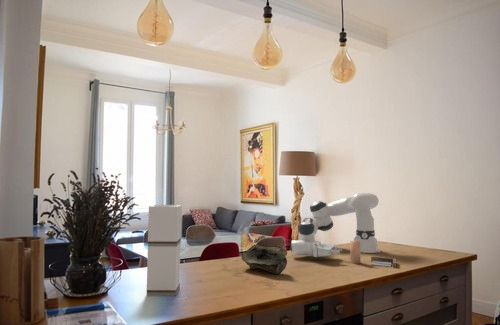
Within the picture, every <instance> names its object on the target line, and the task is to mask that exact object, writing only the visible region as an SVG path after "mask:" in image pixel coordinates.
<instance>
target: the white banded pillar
mask: <svg viewBox="0 0 500 325" xmlns="http://www.w3.org/2000/svg"><path fill="white" fill-rule="evenodd" d="M147 225H148V226H147V228H148V230H147V262H146V263H147V264H146V265H147V266H146V271H147V272H146V296H158V297H159V296H173V297H175V296H177V293H178V292H179V290H180V288H181V283H180V280H181V279H180V276H181V274H180V269H181V268H180V267H181V247H182V246H181V245H182V241H181V240H182V204H180V205H179V204H154V206H152V205H151V206H150V205H149V206H148V224H147Z"/></svg>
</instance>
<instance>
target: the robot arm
mask: <svg viewBox="0 0 500 325" xmlns="http://www.w3.org/2000/svg"><path fill="white" fill-rule="evenodd" d="M379 200H380V199H379V198H378V196H377V195H376V194H374V193H372V192H371V193H370V192H366V193H365V192H361V193H360V192H358V193H356V194H354V195H352V196H347V197H343V198H341V199H338V200H334V201H331V202H329V203H327V202H324V201H321V200H319V201H314V202H313V203H311V204H310V206H309V210H310V213H311V215H312V216H311V215H309V216H307V217H305V218H303V220H302V222H300V223H299V224H298V225H297V228H298V229H297V230H298V239H297V240H292V241H290V250H291V251H290V252H291V253H292V254H294V255H296V256H297V255H299V256H311V257H314V258H317V257H330V256H331V255H336V254H338V255H339V254H340V253H341V252H343V248H342V247H339V246H336V245H335V244H333V243H332V244H330V243H322V242H321V241H318V240H317V241H316V240H315V235H316V234H317V233H318V231H321V232H328V231H329V230H331V229H332V228H333V227H334V222H333V220H332V217H339V216H344V215H348V214H349V215H350V214H354V213H355V217H356V230H355V235H356V236H355V237H354V238H353V241H360V253H365V254H372V253H373V254H374V253H375V254H376V253H381V250H380V249H379V248H378V240H377V238H376V237H375V235H376V234H375V233H376V231H375V218H374V216H373V214H372V211H371V210H372V209H374V208H376V207H377V206H378V205H379Z"/></svg>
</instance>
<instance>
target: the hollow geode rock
mask: <svg viewBox="0 0 500 325" xmlns="http://www.w3.org/2000/svg"><path fill="white" fill-rule="evenodd" d="M287 254H288V251H287V250H286V249H283V248H282V247H281V246H278V245H269V246H268V245H262V244H261V245H260V243H257V244H254V245H251V247H249V248H248V249H247V250H245V251H244V252H243V253H242V254H241V257H240V258H241V260H242V261H243V262H245V264H246V265H248V267H249V270H254V269H262V270H264V271H265V272H269V273H272V274H274V275H281V274H282V273H283V271H284V270H285V269H286V268H287V264H288V260H287V259H288V258H287Z"/></svg>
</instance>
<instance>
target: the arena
mask: <svg viewBox="0 0 500 325" xmlns="http://www.w3.org/2000/svg"><path fill="white" fill-rule="evenodd" d="M370 260H371V261H370V262H371V266H373V267H374V266H376V267H386V268H387V267H388V268H391V267H392V268H393V269H394V268H397V258H394V257H382V256H380V257H379V256H370Z"/></svg>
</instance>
